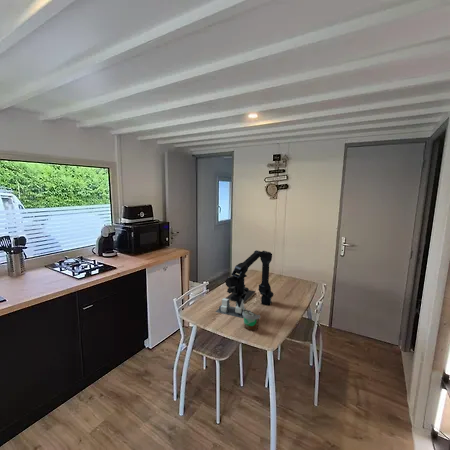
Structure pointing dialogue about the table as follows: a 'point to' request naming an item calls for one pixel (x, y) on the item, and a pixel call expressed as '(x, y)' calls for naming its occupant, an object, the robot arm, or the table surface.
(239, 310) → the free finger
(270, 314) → the table surface
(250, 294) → the hardcover book
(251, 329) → the food container
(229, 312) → the rail
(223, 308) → the block
